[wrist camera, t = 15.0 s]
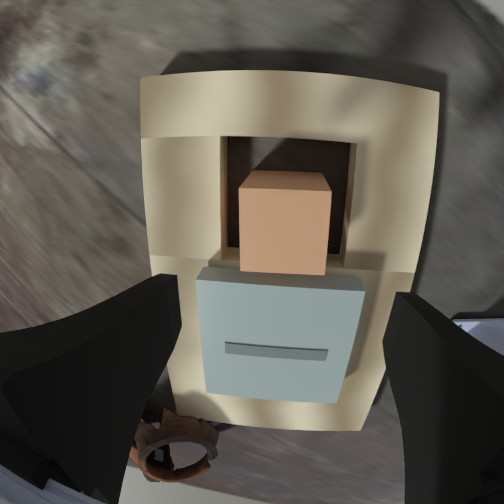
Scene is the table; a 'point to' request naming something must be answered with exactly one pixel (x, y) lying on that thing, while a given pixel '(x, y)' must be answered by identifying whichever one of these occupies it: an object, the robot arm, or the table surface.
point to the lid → (277, 333)
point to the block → (284, 222)
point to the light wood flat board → (355, 216)
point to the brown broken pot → (158, 451)
